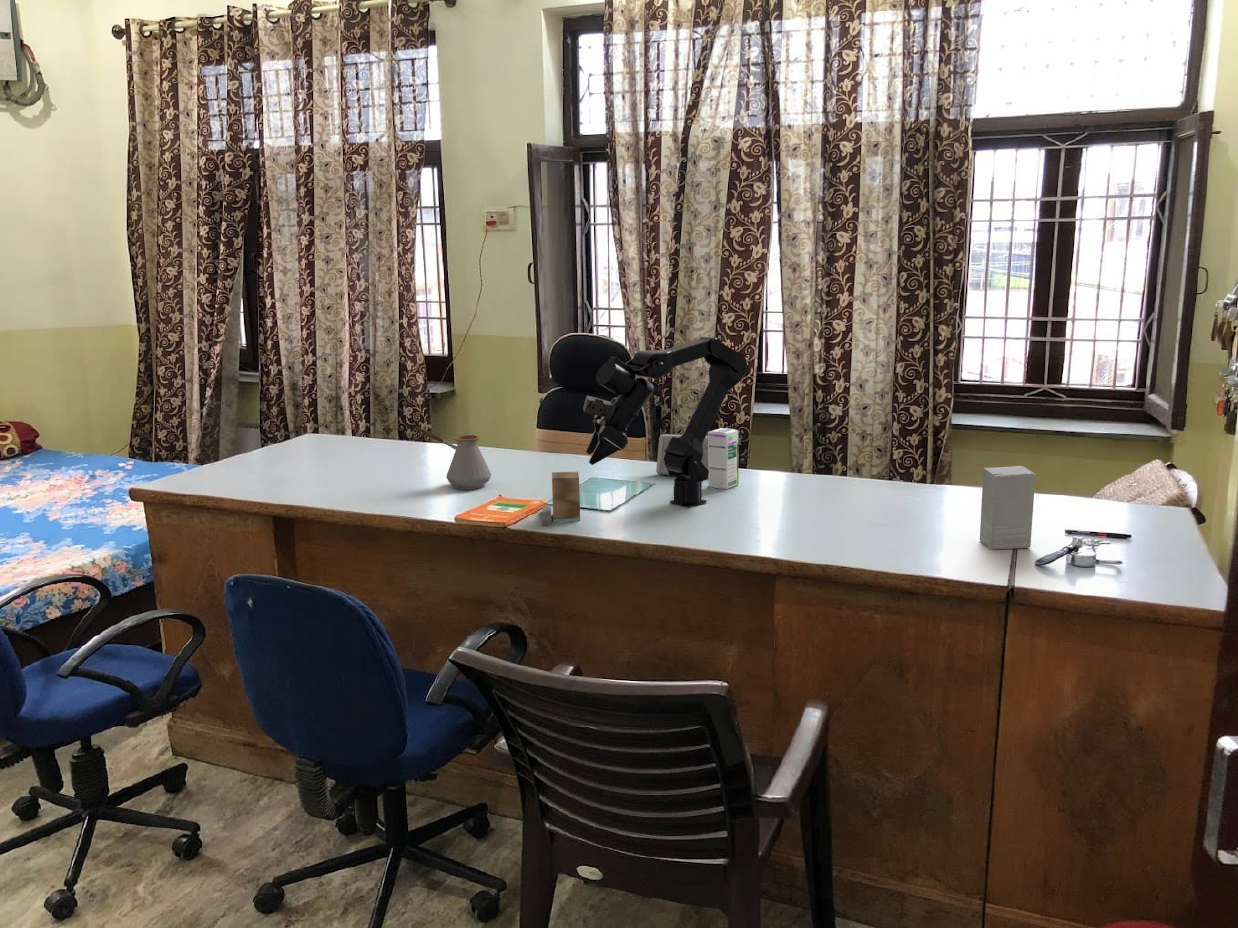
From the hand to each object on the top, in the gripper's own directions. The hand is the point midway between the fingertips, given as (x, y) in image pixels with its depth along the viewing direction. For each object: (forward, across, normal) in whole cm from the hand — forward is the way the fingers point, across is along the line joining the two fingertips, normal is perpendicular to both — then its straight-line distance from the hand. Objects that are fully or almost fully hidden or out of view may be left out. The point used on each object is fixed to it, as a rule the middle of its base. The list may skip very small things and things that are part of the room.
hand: (589, 458), depth 221 cm
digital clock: (-4, -36, +32) cm, 49 cm away
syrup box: (-9, -23, +37) cm, 45 cm away
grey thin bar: (+17, +1, 0) cm, 17 cm away
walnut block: (+14, +1, +4) cm, 15 cm away
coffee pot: (+32, -35, -18) cm, 51 cm away
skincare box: (-39, +36, +72) cm, 89 cm away
